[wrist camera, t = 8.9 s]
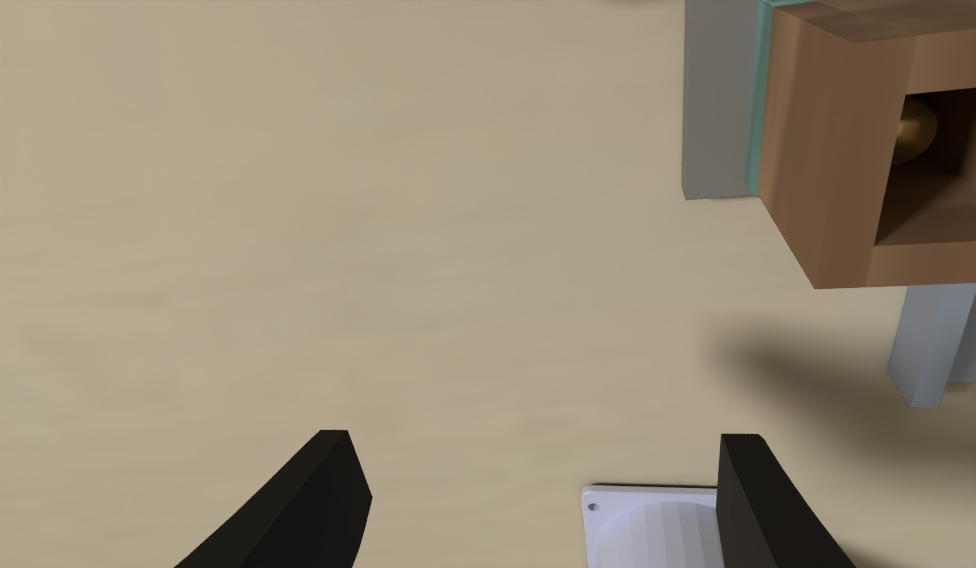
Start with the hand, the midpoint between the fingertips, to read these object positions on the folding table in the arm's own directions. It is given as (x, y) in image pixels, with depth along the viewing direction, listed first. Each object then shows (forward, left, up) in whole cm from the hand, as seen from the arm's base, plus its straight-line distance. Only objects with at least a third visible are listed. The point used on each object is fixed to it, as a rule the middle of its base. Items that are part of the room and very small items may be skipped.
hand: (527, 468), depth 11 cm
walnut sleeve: (+4, -8, -9) cm, 13 cm away
